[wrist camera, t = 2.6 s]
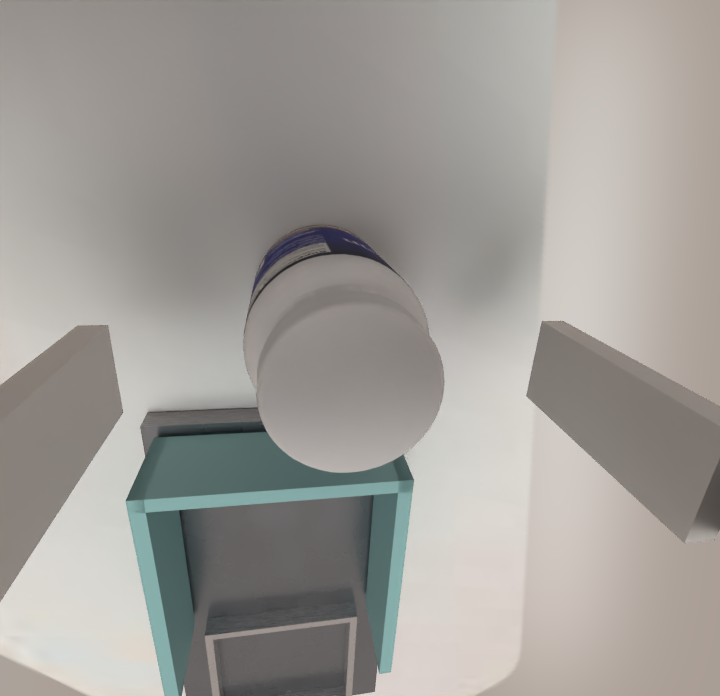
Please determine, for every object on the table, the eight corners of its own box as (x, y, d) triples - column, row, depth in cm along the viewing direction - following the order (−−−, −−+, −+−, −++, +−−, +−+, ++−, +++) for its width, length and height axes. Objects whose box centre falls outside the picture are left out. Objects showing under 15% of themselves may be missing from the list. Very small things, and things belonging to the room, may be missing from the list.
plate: (147, 412, 21) (133, 439, 19) (396, 402, 23) (407, 425, 21) (193, 699, 29) (187, 739, 27) (371, 673, 31) (377, 708, 29)
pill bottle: (405, 301, 21) (503, 412, 12) (307, 369, 21) (326, 526, 12) (335, 194, 18) (390, 230, 9) (226, 274, 19) (177, 382, 10)
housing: (154, 437, 20) (125, 501, 16) (391, 425, 21) (413, 479, 18) (183, 623, 24) (166, 705, 21) (375, 601, 26) (390, 672, 23)
